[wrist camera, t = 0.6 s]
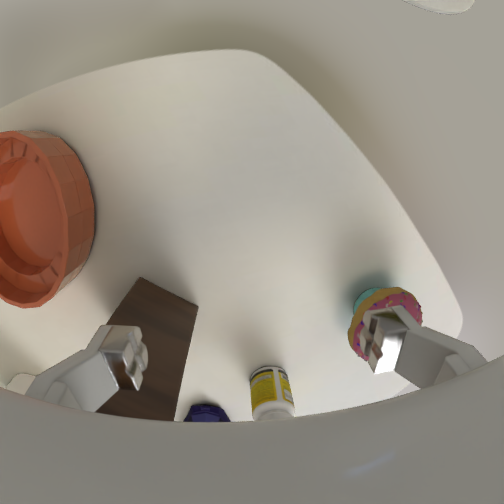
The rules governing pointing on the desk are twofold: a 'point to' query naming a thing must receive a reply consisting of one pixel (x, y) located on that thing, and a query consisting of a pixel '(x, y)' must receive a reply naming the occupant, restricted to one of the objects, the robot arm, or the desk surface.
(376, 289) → the cupcake
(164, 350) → the stand
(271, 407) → the supplement bottle
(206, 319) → the desk surface
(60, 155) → the bowl
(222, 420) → the computer mouse
